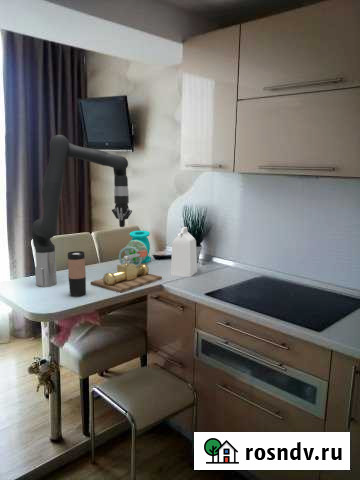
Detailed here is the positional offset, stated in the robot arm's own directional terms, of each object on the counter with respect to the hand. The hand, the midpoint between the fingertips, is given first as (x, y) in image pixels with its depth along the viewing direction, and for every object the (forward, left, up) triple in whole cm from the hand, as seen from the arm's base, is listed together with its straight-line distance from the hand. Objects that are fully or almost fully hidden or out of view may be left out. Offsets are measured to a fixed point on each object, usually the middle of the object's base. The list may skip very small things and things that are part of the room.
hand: (122, 226), depth 211 cm
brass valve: (-8, -11, -27) cm, 30 cm away
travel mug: (-37, -8, -27) cm, 47 cm away
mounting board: (-8, -11, -27) cm, 30 cm away
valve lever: (-1, -11, -15) cm, 19 cm away
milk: (+24, -24, -27) cm, 44 cm away
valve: (+23, +12, -27) cm, 38 cm away
